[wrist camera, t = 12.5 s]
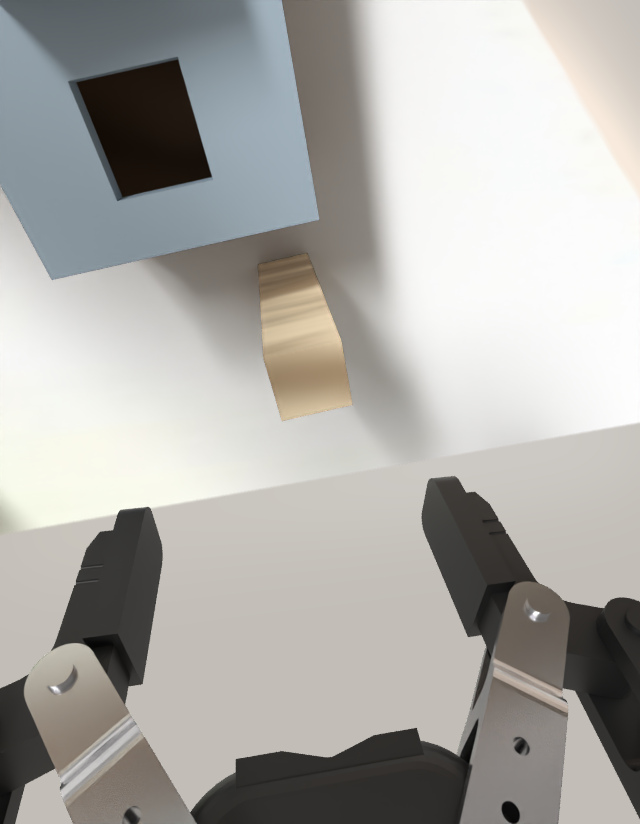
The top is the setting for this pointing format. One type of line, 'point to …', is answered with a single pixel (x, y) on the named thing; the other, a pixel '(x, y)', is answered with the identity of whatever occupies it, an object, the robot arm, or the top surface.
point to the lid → (213, 109)
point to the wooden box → (146, 127)
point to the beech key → (300, 340)
